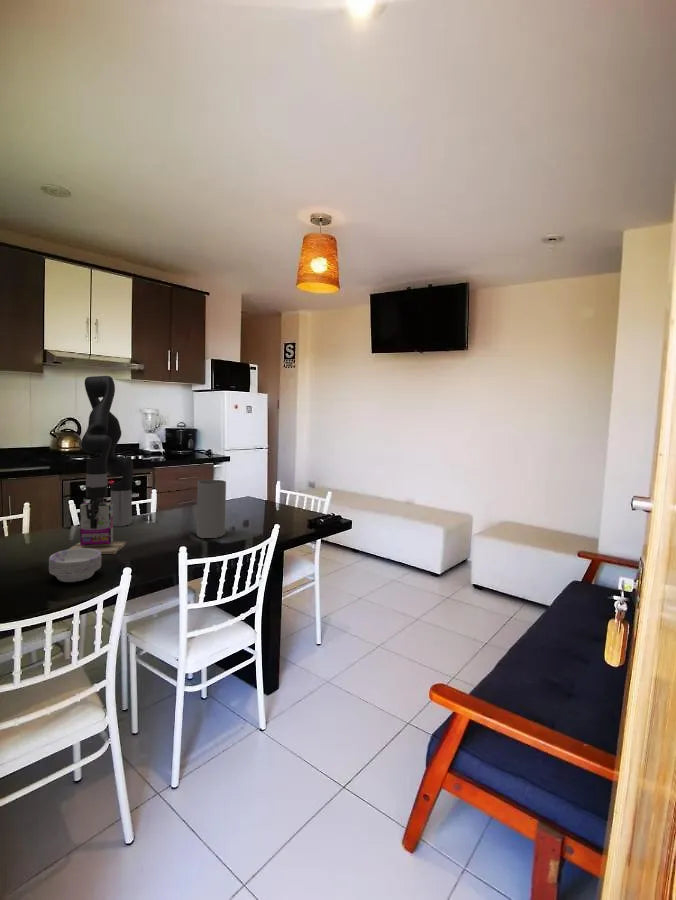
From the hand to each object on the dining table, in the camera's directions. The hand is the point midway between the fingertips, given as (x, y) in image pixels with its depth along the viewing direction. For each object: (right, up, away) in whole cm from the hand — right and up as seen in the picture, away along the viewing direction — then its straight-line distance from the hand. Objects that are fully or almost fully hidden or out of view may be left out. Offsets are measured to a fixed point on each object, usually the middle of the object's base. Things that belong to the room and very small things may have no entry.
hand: (96, 526), depth 180 cm
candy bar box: (0, -7, +1) cm, 7 cm away
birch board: (0, -9, +1) cm, 9 cm away
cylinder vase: (+38, -9, +27) cm, 47 cm away
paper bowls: (+9, -12, -29) cm, 33 cm away
